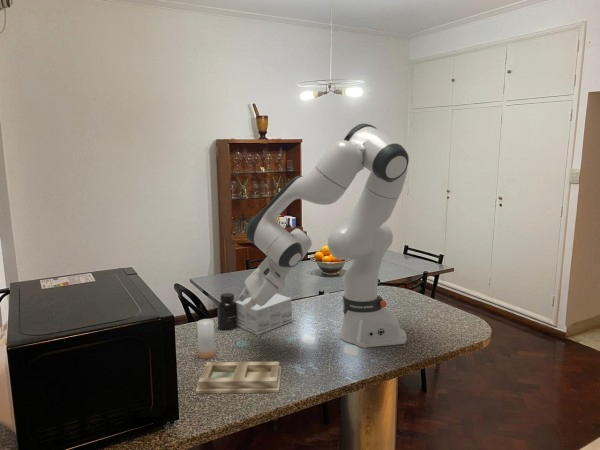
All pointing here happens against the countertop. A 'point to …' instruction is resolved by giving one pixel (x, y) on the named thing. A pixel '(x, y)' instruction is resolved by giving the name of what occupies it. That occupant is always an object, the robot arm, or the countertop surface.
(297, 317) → the countertop surface
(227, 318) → the supplement bottle
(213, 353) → the white dome lamp
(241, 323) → the supplement box
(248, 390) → the two-pocket rack
